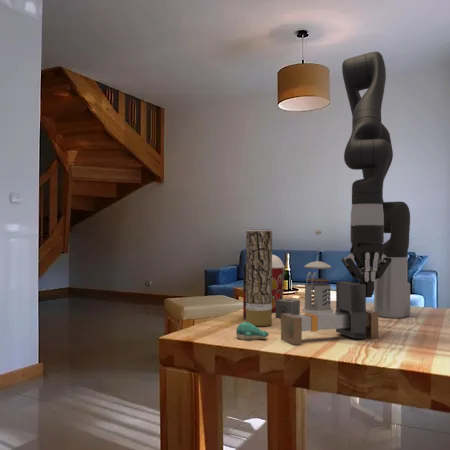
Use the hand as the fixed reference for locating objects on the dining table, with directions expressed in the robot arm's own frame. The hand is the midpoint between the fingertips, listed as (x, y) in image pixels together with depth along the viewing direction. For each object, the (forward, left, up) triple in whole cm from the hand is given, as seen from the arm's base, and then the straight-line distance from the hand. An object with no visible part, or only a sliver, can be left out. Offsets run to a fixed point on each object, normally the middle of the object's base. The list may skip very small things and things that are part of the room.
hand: (366, 297), depth 112 cm
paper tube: (+19, -20, -9) cm, 29 cm away
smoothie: (+7, -38, -9) cm, 40 cm away
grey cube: (+7, -27, -9) cm, 29 cm away
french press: (-6, -33, -9) cm, 35 cm away
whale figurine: (+27, -6, -10) cm, 29 cm away
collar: (+4, 0, -9) cm, 10 cm away
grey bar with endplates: (+10, 0, -9) cm, 13 cm away
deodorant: (+17, -28, -9) cm, 34 cm away
